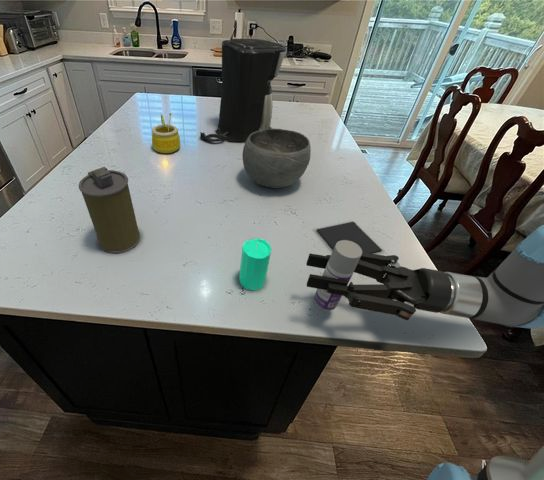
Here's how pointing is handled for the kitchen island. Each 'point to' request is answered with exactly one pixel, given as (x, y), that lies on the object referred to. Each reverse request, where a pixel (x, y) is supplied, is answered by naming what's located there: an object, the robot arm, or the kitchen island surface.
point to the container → (338, 271)
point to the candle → (254, 263)
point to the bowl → (276, 157)
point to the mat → (348, 236)
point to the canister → (110, 209)
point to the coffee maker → (246, 87)
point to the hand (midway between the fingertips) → (308, 269)
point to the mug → (165, 137)
